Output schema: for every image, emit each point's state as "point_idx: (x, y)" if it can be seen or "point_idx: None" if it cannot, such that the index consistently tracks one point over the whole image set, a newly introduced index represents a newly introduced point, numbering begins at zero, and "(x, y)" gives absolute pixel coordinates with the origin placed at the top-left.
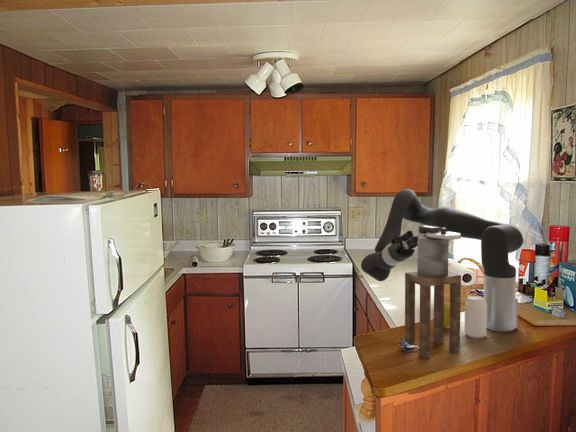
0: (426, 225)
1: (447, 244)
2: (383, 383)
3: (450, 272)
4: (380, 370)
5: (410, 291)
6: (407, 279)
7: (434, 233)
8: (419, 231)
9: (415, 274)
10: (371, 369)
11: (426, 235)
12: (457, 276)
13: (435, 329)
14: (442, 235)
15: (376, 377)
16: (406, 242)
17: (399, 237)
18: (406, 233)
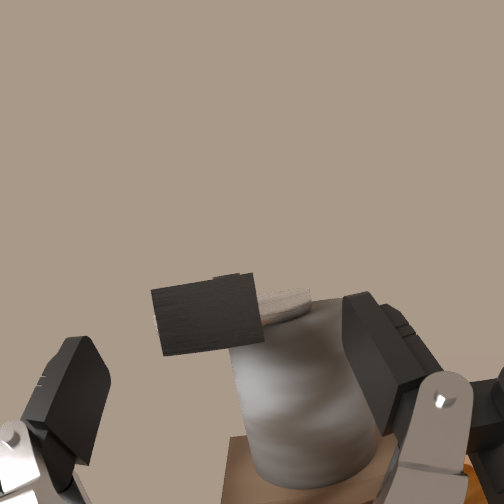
0: (161, 288)
1: None
2: (463, 467)
3: (231, 462)
4: (468, 495)
5: None
6: None
7: (262, 299)
8: (261, 327)
9: (387, 442)
10: (483, 494)
11: (306, 301)
12: (245, 437)
13: None
14: (269, 293)
15: (474, 476)
16: (379, 489)
17: (474, 387)
18: (398, 320)
